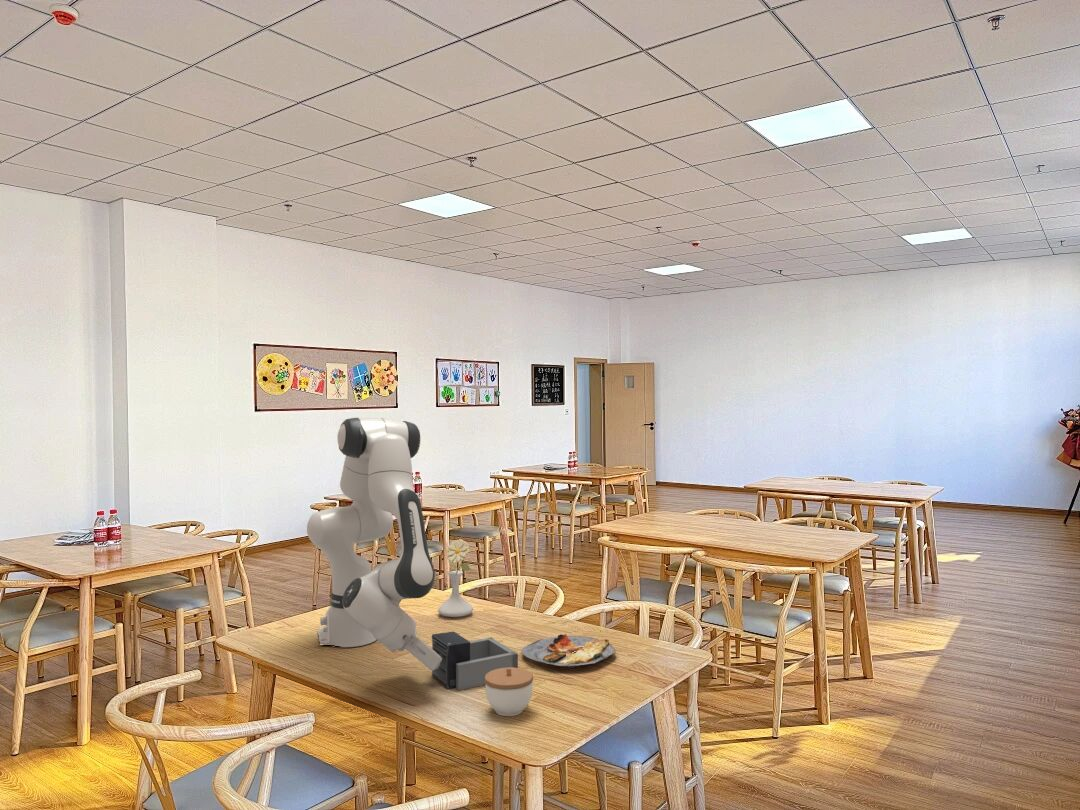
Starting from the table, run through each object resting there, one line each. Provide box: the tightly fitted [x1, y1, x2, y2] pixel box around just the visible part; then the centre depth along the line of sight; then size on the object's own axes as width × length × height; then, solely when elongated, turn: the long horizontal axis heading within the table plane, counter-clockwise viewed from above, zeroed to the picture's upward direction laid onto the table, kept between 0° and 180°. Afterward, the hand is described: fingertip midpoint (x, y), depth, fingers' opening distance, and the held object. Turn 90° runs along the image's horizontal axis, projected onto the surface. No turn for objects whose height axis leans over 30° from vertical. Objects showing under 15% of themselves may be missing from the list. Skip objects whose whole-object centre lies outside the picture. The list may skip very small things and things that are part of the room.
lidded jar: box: [484, 667, 534, 717], centre depth 165 cm, size 11×11×9 cm
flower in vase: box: [437, 538, 474, 618], centre depth 240 cm, size 13×11×25 cm
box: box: [455, 637, 519, 691], centre depth 187 cm, size 15×16×6 cm
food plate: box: [520, 633, 616, 669], centre depth 200 cm, size 25×23×4 cm
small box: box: [431, 631, 471, 689], centre depth 184 cm, size 11×6×10 cm, turn 30°
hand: (436, 665), depth 182 cm, fingers closed, pressing on small box
